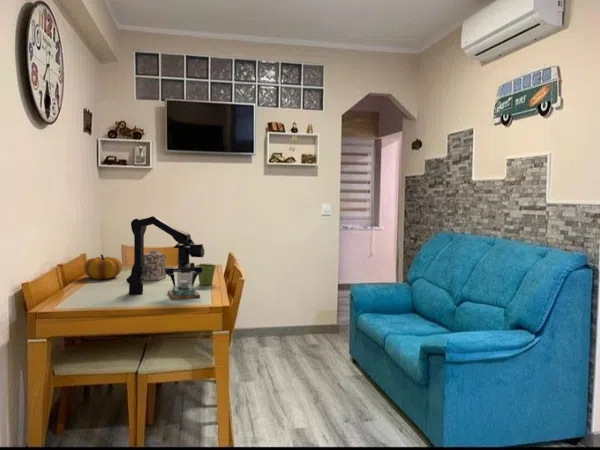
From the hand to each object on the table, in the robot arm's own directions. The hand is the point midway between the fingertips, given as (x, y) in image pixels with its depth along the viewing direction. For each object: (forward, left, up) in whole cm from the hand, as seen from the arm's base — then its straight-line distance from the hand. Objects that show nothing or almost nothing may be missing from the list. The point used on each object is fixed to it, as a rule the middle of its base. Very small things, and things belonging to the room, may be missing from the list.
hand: (183, 286), depth 236 cm
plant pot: (+17, +26, -5) cm, 32 cm away
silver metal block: (0, 0, -3) cm, 3 cm away
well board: (0, 0, -5) cm, 5 cm away
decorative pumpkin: (-39, +66, -5) cm, 77 cm away
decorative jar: (-10, +54, -5) cm, 55 cm away
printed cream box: (+4, +20, -5) cm, 21 cm away
